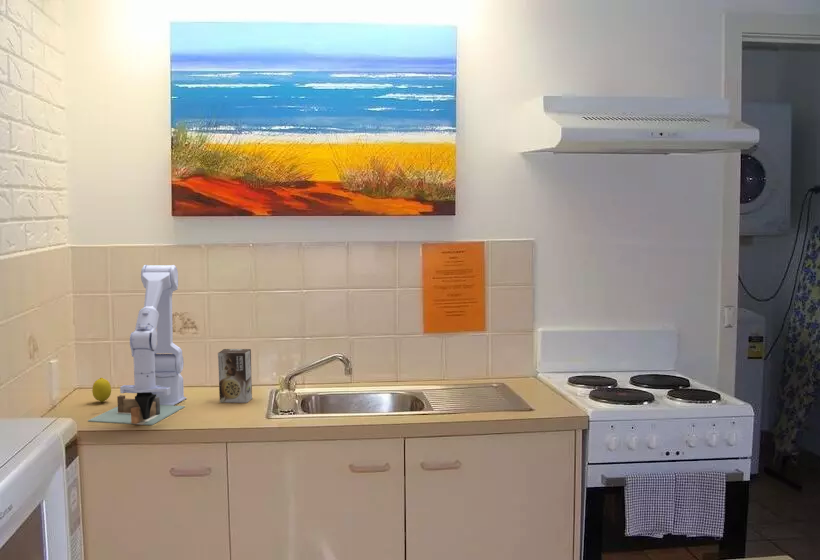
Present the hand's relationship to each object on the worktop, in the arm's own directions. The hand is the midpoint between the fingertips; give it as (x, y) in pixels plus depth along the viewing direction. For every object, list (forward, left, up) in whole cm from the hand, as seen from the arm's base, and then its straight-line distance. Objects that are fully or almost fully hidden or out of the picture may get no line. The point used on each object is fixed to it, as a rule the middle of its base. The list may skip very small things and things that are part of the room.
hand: (146, 418), depth 230 cm
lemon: (-18, -25, -2) cm, 31 cm away
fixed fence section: (-8, -7, -1) cm, 11 cm away
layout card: (-8, -7, -1) cm, 11 cm away
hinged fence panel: (-2, -2, -1) cm, 2 cm away
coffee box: (-29, +15, -2) cm, 33 cm away
